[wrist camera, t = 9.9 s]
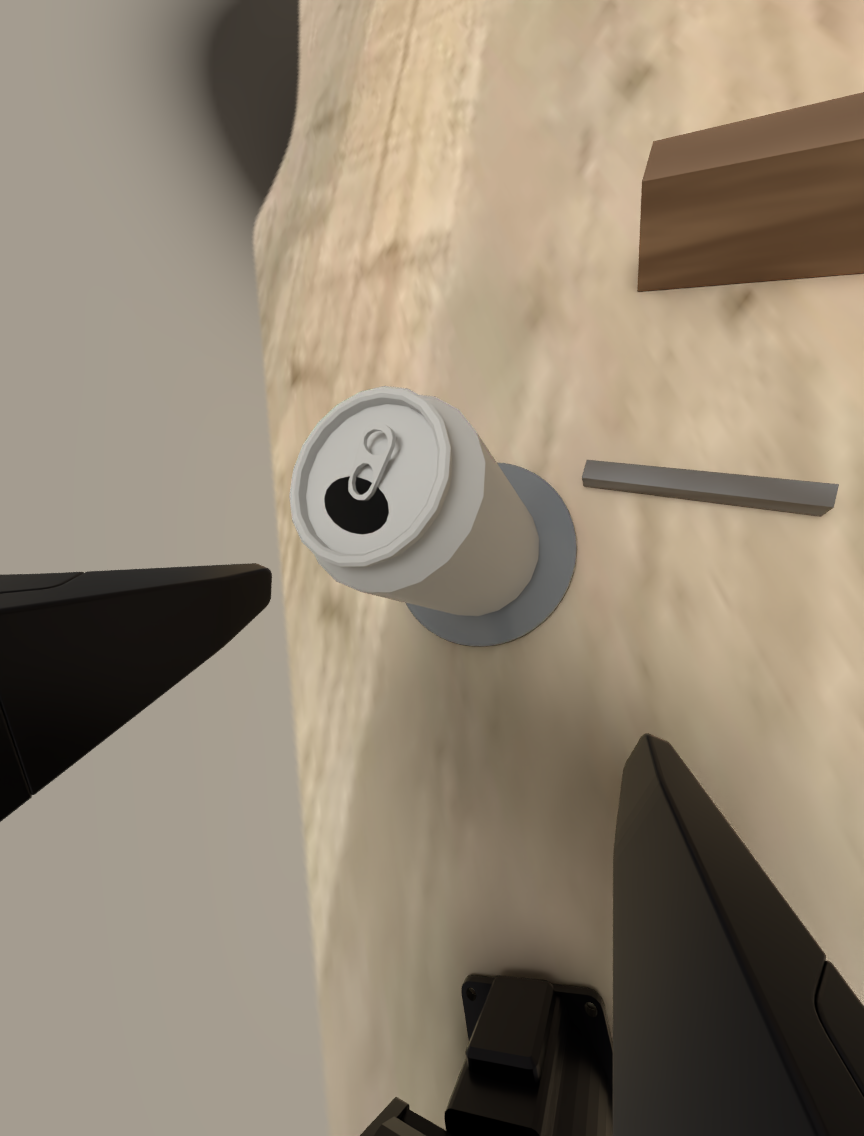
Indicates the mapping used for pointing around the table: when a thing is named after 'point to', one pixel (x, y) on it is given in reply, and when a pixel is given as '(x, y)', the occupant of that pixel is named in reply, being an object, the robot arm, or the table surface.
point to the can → (412, 505)
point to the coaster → (543, 585)
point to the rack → (749, 249)
